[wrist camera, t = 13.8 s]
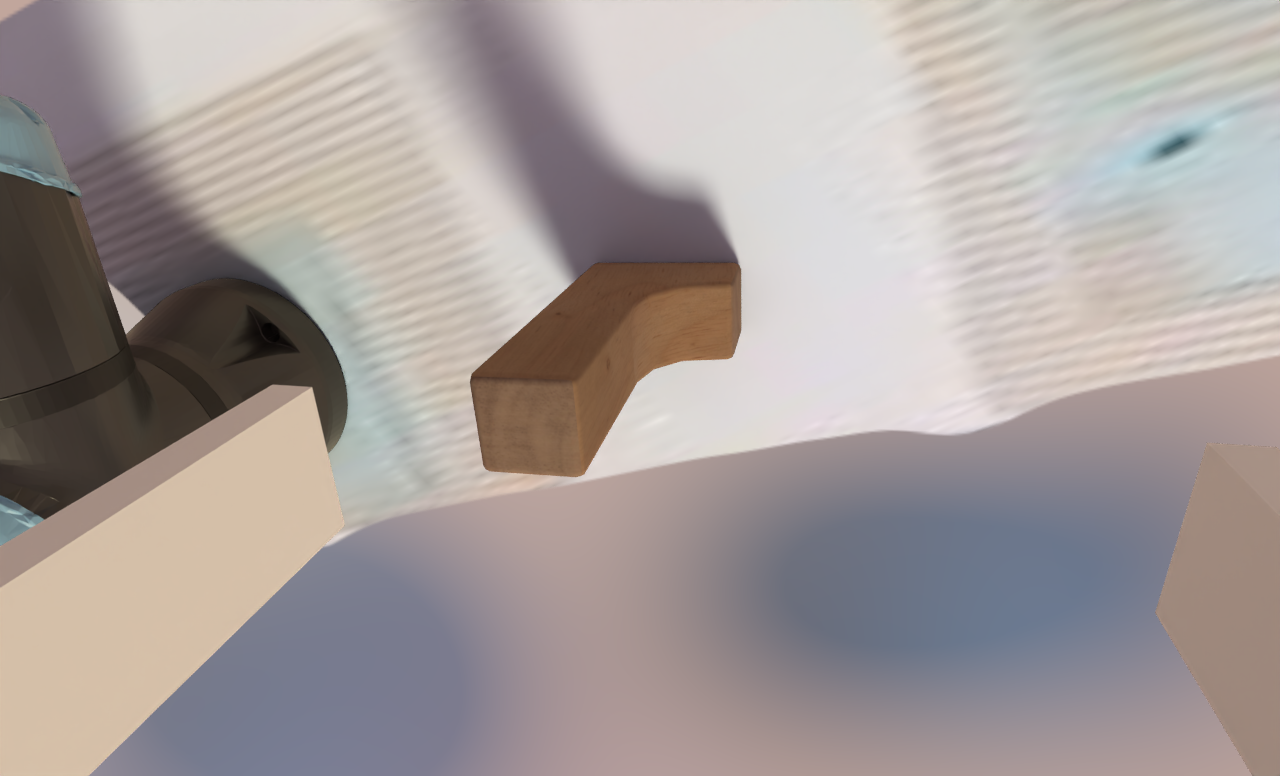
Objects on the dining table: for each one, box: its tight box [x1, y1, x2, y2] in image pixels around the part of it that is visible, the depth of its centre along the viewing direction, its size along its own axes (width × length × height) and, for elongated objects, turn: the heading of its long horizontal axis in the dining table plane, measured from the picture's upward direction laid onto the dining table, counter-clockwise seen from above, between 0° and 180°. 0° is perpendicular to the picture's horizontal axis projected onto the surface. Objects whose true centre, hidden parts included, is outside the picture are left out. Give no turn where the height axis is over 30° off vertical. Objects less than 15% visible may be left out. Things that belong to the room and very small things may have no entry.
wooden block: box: [470, 263, 741, 477], centre depth 37 cm, size 9×4×18 cm, turn 94°
